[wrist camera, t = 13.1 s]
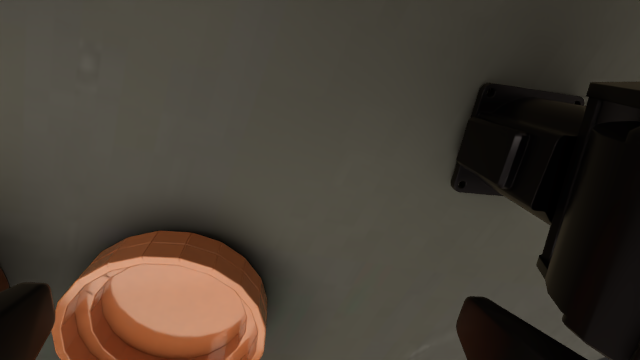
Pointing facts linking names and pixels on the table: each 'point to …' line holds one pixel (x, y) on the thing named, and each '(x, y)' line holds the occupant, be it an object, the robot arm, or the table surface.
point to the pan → (163, 303)
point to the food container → (3, 281)
